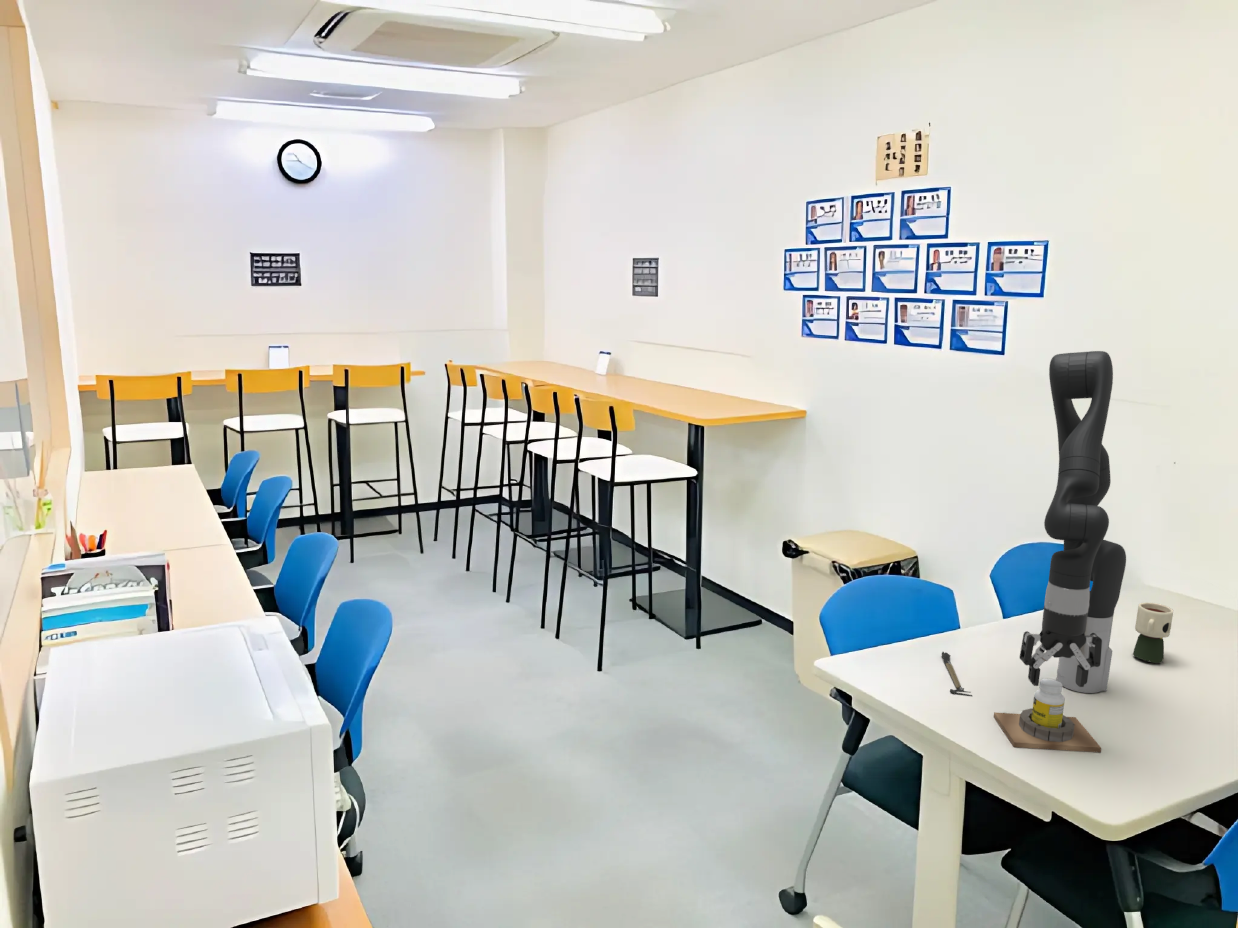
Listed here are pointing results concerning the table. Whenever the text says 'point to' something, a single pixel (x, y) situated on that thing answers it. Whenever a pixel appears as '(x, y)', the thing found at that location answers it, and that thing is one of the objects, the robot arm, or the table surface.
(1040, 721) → the supplement bottle
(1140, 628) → the character mug
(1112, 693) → the table surface
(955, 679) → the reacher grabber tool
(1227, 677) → the table surface
